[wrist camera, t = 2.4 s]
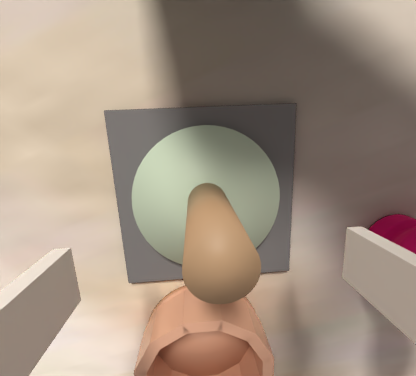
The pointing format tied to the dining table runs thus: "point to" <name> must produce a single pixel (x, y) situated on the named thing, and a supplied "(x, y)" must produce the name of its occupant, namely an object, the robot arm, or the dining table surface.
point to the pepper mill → (397, 230)
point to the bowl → (203, 339)
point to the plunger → (208, 208)
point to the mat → (183, 118)
